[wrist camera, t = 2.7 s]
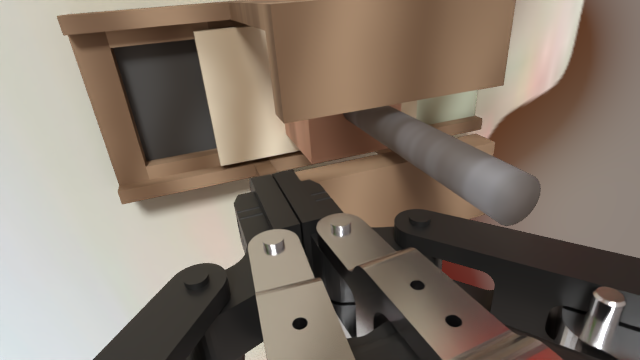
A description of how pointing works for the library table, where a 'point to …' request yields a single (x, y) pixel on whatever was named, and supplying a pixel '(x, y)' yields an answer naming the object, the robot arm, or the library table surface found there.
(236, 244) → the library table surface
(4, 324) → the library table surface
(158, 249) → the library table surface
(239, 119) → the cube with grey rod
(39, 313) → the library table surface
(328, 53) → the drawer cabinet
